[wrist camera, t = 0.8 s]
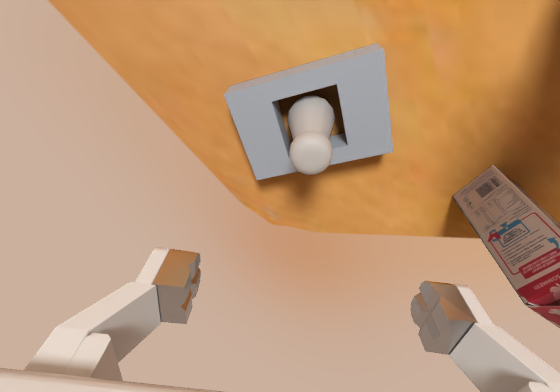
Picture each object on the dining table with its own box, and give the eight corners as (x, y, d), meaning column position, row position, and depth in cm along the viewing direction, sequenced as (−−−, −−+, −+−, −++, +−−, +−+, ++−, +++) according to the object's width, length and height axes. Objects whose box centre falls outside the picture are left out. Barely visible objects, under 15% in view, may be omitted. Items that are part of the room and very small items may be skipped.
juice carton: (493, 164, 41) (635, 303, 23) (523, 189, 42) (677, 336, 25) (451, 196, 44) (547, 338, 26) (481, 217, 46) (589, 364, 28)
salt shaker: (280, 110, 39) (267, 155, 29) (313, 80, 37) (314, 117, 26) (308, 141, 41) (307, 194, 31) (342, 114, 39) (353, 162, 28)
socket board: (376, 43, 34) (383, 48, 30) (386, 138, 40) (393, 152, 37) (231, 85, 38) (223, 94, 35) (260, 166, 44) (256, 180, 41)
